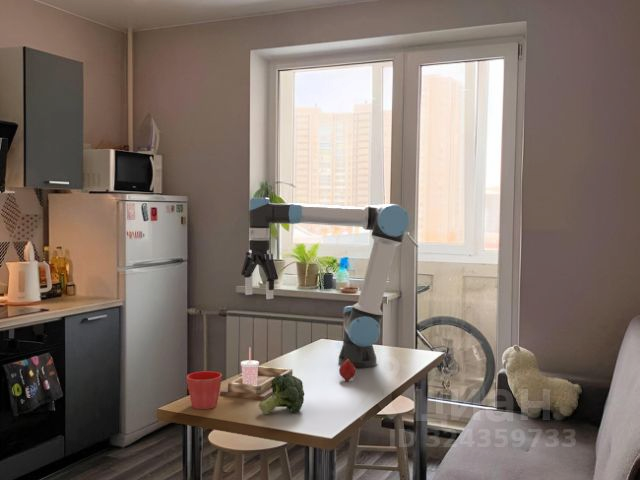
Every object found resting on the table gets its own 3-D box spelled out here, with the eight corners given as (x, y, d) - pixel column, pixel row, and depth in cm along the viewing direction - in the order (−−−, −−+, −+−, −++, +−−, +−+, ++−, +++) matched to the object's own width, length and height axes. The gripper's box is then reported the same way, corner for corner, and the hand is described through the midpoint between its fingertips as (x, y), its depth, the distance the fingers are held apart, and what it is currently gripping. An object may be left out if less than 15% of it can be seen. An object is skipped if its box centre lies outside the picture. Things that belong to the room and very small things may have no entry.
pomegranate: (335, 380, 238) (336, 358, 237) (346, 377, 242) (346, 356, 242) (348, 384, 234) (348, 361, 233) (358, 380, 238) (358, 358, 238)
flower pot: (183, 402, 211) (183, 372, 210) (217, 399, 215) (217, 369, 214) (190, 412, 201) (190, 381, 200) (225, 408, 205) (225, 377, 205)
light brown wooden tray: (294, 379, 238) (294, 369, 238) (264, 400, 214) (264, 388, 214) (254, 375, 244) (254, 365, 244) (220, 394, 219) (220, 383, 219)
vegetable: (249, 400, 207) (288, 374, 213) (273, 433, 202) (312, 406, 208) (251, 386, 197) (291, 359, 203) (275, 421, 192) (316, 393, 198)
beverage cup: (242, 386, 226) (242, 345, 225) (260, 386, 226) (260, 345, 225) (239, 391, 220) (239, 349, 219) (257, 391, 219) (257, 349, 219)
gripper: (232, 238, 252) (232, 293, 253) (270, 241, 233) (270, 301, 234) (248, 237, 257) (248, 292, 258) (287, 240, 238) (287, 299, 239)
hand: (259, 296), depth 246 cm, fingers open, 13 cm apart
